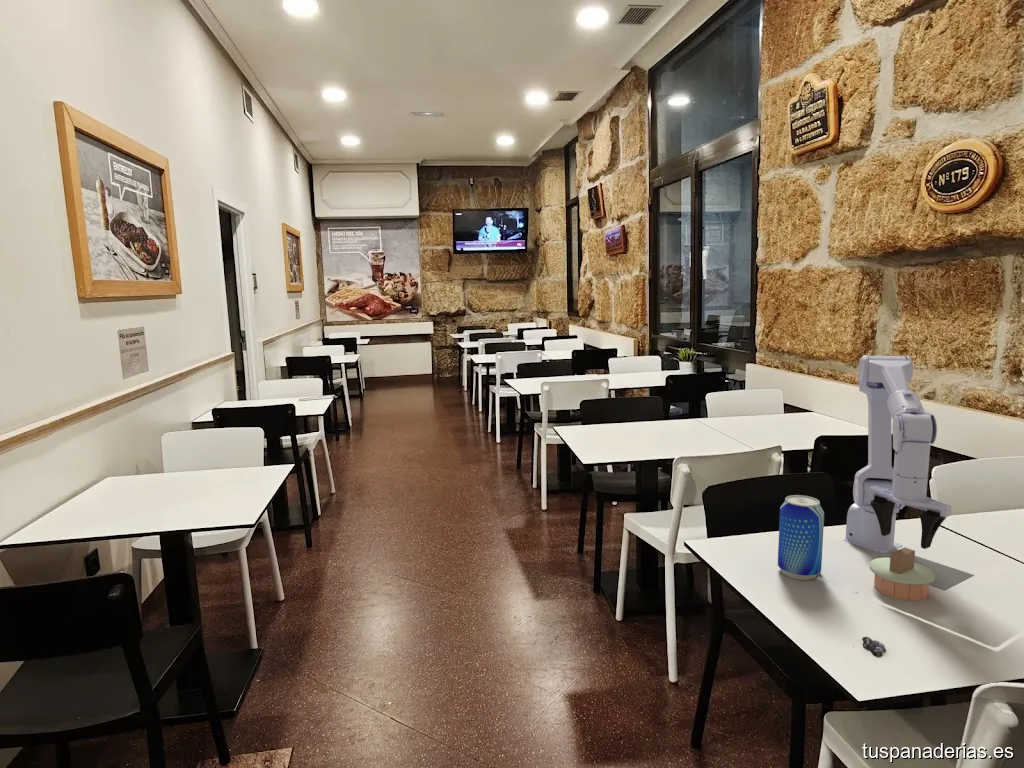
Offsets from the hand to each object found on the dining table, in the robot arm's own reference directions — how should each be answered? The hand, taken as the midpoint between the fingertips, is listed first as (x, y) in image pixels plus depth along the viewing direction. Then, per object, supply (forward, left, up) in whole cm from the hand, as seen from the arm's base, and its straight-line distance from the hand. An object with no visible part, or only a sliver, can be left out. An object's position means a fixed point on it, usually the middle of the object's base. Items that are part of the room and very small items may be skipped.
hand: (905, 540), depth 127 cm
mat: (0, +10, -10) cm, 14 cm away
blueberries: (+9, -26, -10) cm, 29 cm away
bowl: (+1, -2, -10) cm, 10 cm away
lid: (+1, -2, -6) cm, 6 cm away
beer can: (-15, -11, -10) cm, 21 cm away
